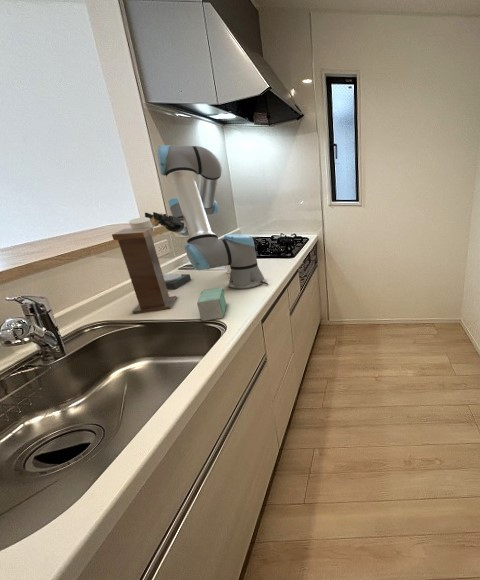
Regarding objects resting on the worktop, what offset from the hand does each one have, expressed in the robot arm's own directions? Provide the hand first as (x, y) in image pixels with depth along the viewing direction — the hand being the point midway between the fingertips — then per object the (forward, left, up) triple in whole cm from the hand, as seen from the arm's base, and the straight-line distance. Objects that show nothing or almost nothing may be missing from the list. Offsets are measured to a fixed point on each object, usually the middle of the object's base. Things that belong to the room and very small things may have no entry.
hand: (150, 215), depth 133 cm
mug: (-22, -23, -33) cm, 46 cm away
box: (-34, +29, -33) cm, 56 cm away
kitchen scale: (+3, -4, -33) cm, 33 cm away
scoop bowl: (0, +2, -4) cm, 4 cm away
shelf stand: (-7, +21, -33) cm, 40 cm away
